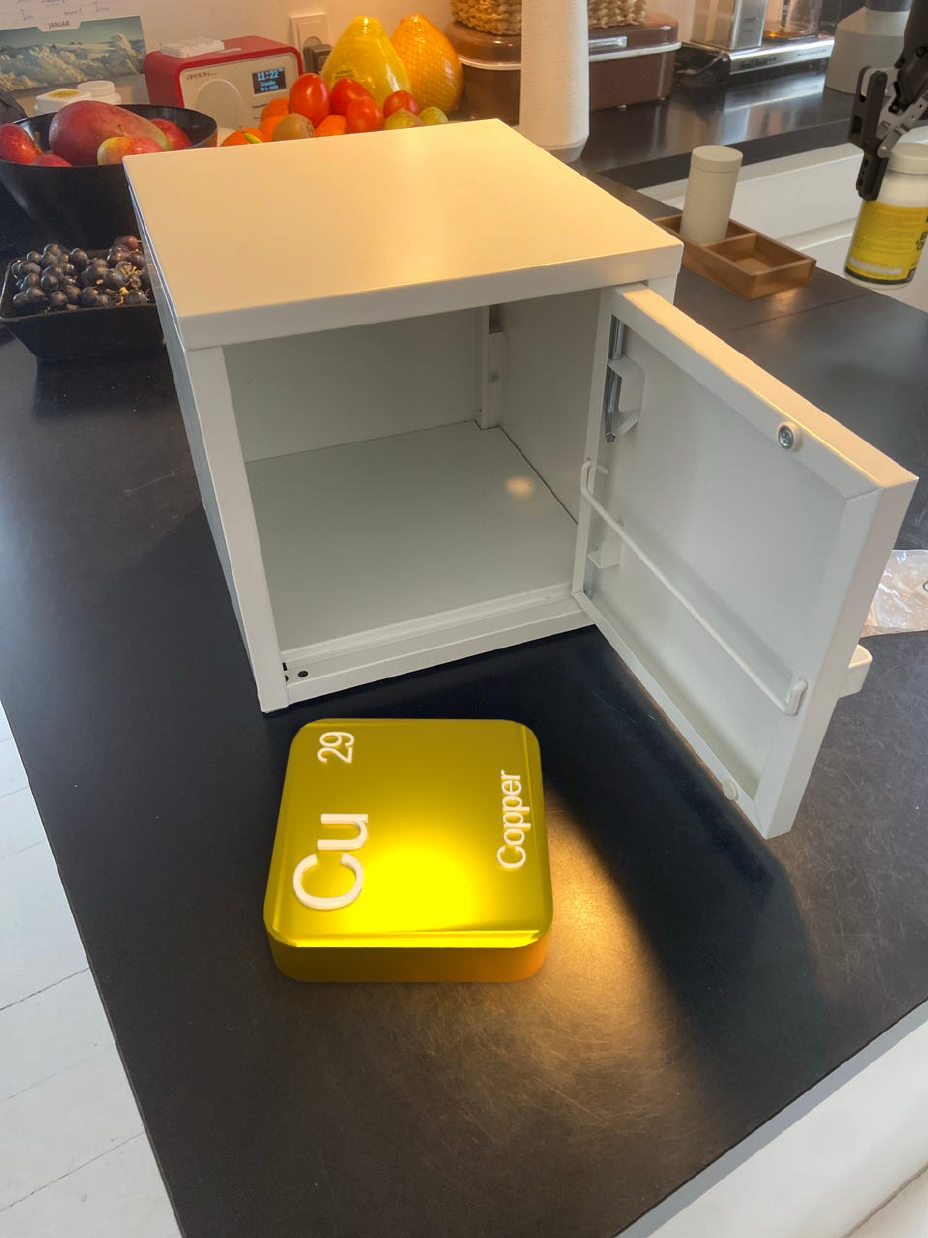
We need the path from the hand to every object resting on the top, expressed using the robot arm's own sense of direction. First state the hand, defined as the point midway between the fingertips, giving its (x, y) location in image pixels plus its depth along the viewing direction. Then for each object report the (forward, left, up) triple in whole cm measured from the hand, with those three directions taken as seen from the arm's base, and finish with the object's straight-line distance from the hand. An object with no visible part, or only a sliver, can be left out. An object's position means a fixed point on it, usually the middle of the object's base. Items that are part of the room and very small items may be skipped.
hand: (902, 195), depth 83 cm
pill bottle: (0, 0, -8) cm, 8 cm away
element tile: (+54, +48, -19) cm, 74 cm away
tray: (-1, -32, -19) cm, 37 cm away
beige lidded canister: (+1, -37, -19) cm, 41 cm away
